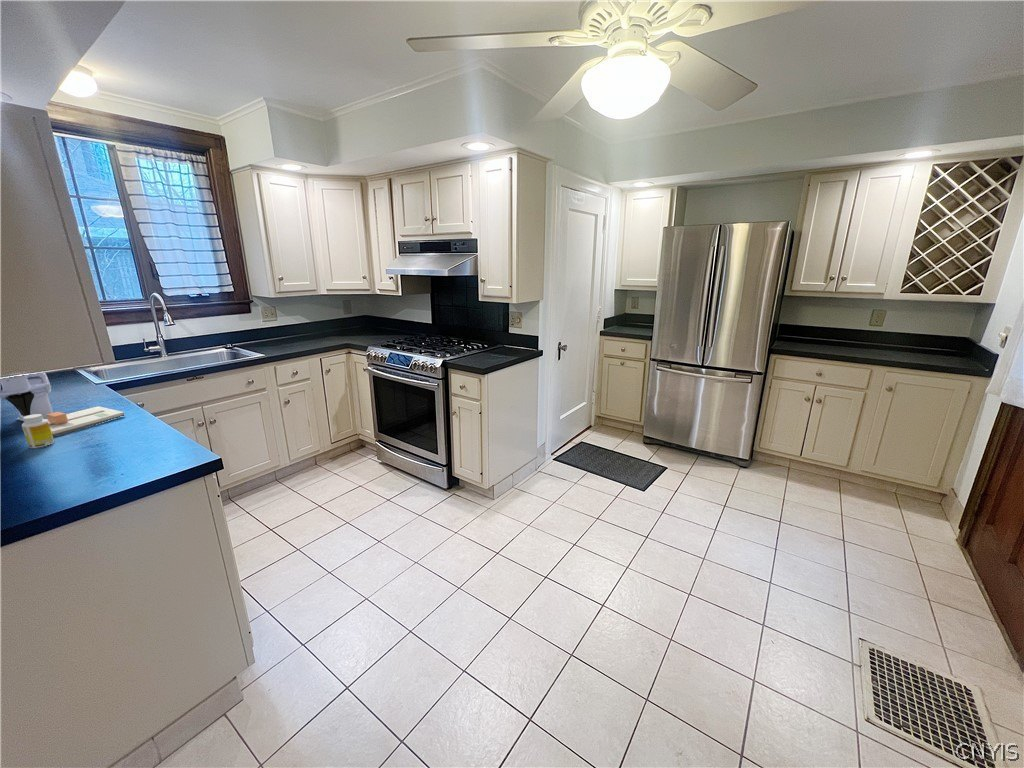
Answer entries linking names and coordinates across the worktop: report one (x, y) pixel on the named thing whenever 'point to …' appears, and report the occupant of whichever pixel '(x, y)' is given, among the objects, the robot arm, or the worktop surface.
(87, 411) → the white flat board
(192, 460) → the worktop surface
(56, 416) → the switch
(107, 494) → the worktop surface
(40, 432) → the supplement bottle
